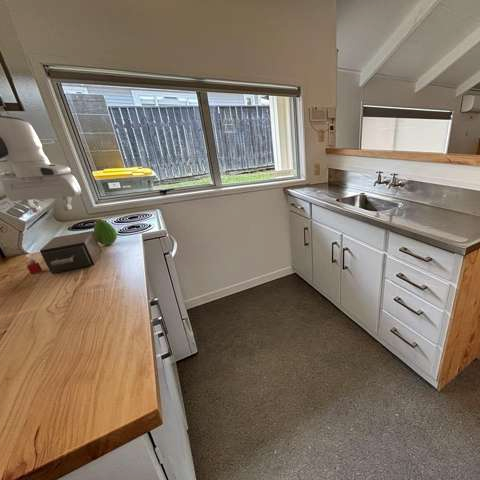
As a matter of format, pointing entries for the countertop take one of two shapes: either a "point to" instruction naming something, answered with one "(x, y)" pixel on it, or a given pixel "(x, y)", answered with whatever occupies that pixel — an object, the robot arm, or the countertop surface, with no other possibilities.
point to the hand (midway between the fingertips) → (53, 210)
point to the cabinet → (73, 240)
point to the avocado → (104, 232)
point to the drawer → (66, 258)
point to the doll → (33, 266)
